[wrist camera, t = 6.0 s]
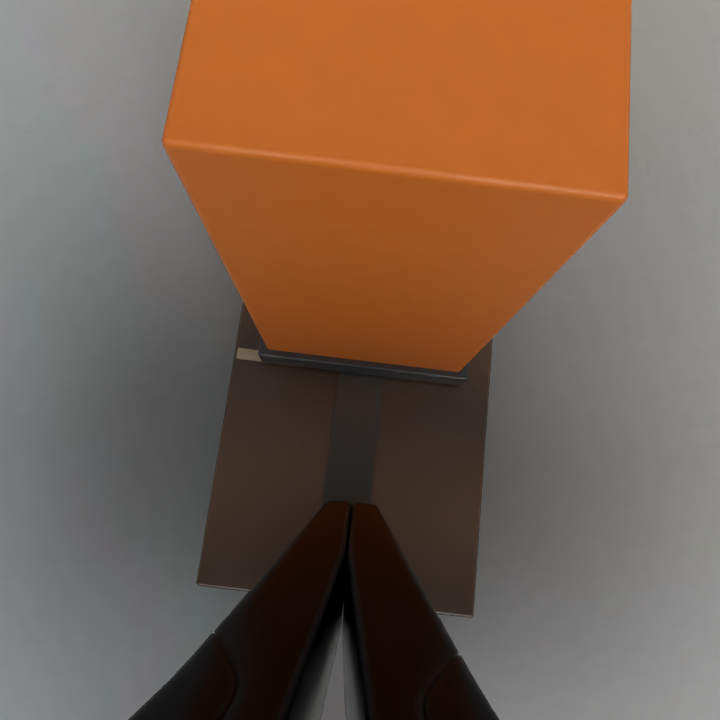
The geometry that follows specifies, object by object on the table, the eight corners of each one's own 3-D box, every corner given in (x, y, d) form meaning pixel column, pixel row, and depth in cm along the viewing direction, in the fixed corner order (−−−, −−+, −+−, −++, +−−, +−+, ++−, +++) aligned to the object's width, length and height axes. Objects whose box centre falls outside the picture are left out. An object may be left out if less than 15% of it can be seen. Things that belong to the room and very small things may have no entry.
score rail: (462, 607, 16) (505, 649, 12) (208, 577, 16) (159, 608, 12) (506, -3, 21) (551, -135, 16) (306, -27, 21) (297, -167, 16)
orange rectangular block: (461, 386, 16) (649, 220, 6) (261, 362, 16) (135, 157, 6) (473, 234, 17) (653, -116, 7) (284, 211, 17) (207, -172, 7)
